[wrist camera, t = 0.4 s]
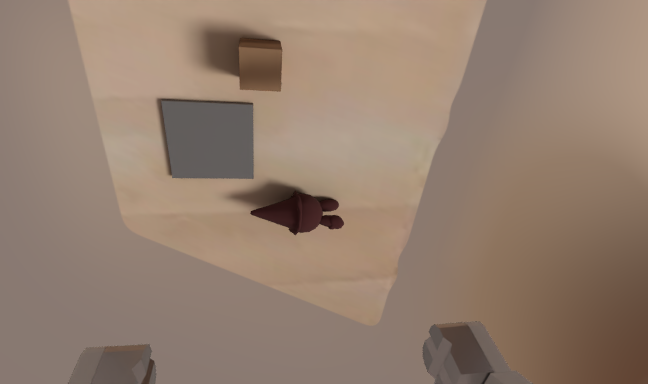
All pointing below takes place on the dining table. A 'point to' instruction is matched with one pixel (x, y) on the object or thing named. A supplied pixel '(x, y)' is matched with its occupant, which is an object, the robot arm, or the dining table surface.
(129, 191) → the dining table surface
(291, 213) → the icecream
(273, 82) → the cube
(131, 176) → the dining table surface
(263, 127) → the dining table surface
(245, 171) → the coaster
